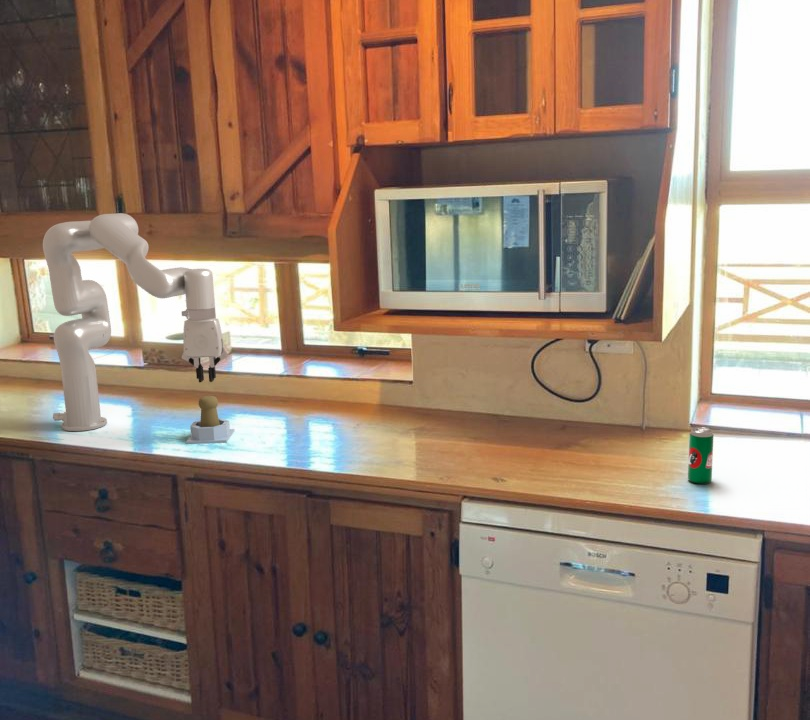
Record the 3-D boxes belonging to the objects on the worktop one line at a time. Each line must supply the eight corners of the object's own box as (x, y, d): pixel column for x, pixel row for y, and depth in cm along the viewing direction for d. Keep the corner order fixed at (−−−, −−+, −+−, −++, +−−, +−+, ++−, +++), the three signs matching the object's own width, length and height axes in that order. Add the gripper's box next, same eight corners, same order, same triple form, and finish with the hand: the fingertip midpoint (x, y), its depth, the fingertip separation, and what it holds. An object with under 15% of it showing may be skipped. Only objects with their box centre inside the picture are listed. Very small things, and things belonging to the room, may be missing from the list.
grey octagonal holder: (186, 443, 233) (185, 429, 232) (195, 432, 244) (194, 418, 243) (226, 442, 233) (225, 428, 232) (234, 431, 244) (233, 417, 243)
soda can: (711, 486, 189) (713, 433, 187) (686, 483, 191) (688, 431, 188) (711, 478, 194) (714, 427, 191) (688, 476, 195) (690, 425, 193)
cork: (224, 431, 241) (221, 393, 239) (218, 438, 235) (215, 399, 233) (203, 431, 242) (200, 394, 239) (196, 438, 236) (193, 399, 234)
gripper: (168, 317, 228) (173, 385, 232) (228, 316, 228) (233, 383, 232) (175, 313, 235) (180, 379, 239) (233, 312, 235) (238, 377, 239)
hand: (206, 380), depth 235 cm, fingers closed
